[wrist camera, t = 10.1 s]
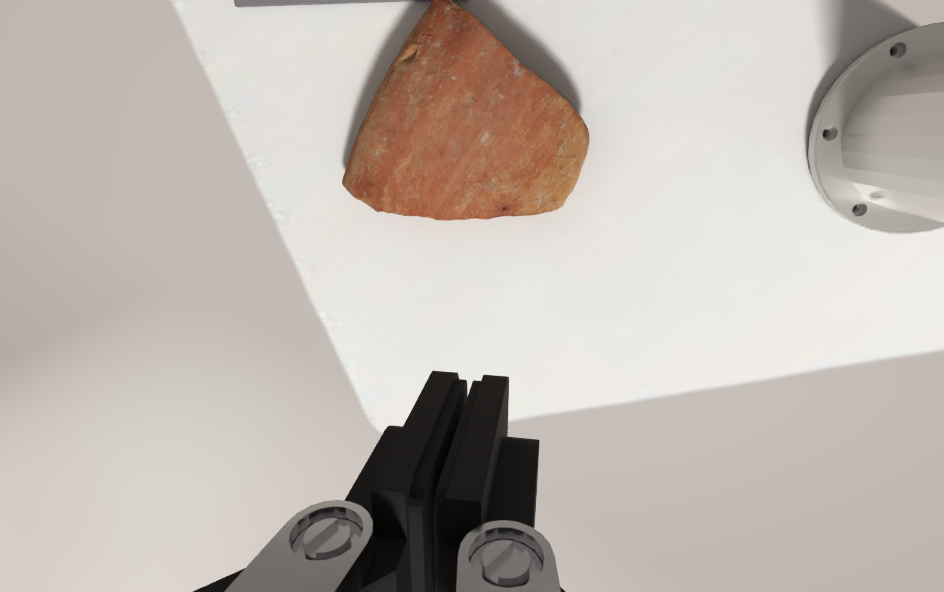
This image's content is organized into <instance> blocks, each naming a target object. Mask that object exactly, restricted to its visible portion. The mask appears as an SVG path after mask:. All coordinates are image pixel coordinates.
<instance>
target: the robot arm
mask: <svg viewBox="0 0 944 592" xmlns="http://www.w3.org/2000/svg"><path fill="white" fill-rule="evenodd" d="M891 48H892V49H893V54H892V55H890V49H891ZM825 129H826V130H827V135H826V136H825V137H823V135H822V133H823V131H824V130H825ZM808 159H809V165H810V171H811V176H812V178H813V181H814V183H815V185H816V188H817V190H818V192H819V193H820V195H821V196H822V197H823V199H824V200H825V202H826V203H827V204H828V205H829V206H830V207H831V208H832V209H833V210H834V211H835V212H837V213H838V214H839V215H840V216H842V217H844V218H845V219H847V220H849V221H851V222H853V223H854V224H857V225H860V226H863V227H865V228H868V229H871V230H876V231H880V232H885V233H893V234H913V233H921V232H928V231H933V230H936V229H940V228H943V227H944V22H942V23H933V24H929V25H925V26H921V27H918V28H914V29H911V30H908V31H906V32H903V33H900V34H898V35H895V36H892V37H890V38H888V39H886V40H885V41H883V42H881V43H880V44H878V45H876V46H874V47H873V48H871V49H869V50H868V51H867V52H865V53H864V54H863V55H862V56H860V57H859V58H858V59H857V60H855V61H854V62H853V63H852V64H850V65H849V67H848V68H847V69H846V70H845V71H844V72H843V73H842V74H841V75H840V76H839V77H838V78H837V80H836V81H835V82H834V83H833V85H832V86H831V88H830V89H829V91H828V92H827V94H826V95H825V97H824V98H823V100H822V102H821V104H820V107H819V109H818V111H817V113H816V115H815V118H814V121H813V125H812V129H811V133H810V137H809V151H808ZM855 205H856V209H855V210H854V211H852V209H853V207H854V206H855ZM508 397H509V377H505V376H492V375H483V378H482V381H473V383H472V386H471V389H470V392H469V394H468V397H467V381H466V380H460V379H459V376H458V373H454V372H441V371H432V373H431V374H430V376H429V378H428V380H427V382H426V384H425V386H424V388H423V390H422V392H421V394H420V395H419V397H418V399H417V401H416V403H415V405H414V407H413V409H412V411H411V413H410V415H409V416H408V418H407V420H406V422H405V424H404V426H403V427H400V426H388V427H387V428H386V430H385V431H384V433H383V435H382V436H381V438H380V440H379V442H378V444H377V445H376V447H375V448H374V451H373V452H372V454H371V456H370V457H369V459H368V461H367V462H366V464H365V466H364V468H363V469H362V471H361V473H360V474H359V476H358V478H357V480H356V482H355V483H354V485H353V487H352V489H351V490H350V492H349V494H348V496H347V497H346V499H345V500H344V501H342V500H334V501H325V502H321V503H318V504H315V505H311V506H309V507H307V508H306V509H304V510H302V511H300V512H299V513H297V514H296V515H295V516H294V517H293V518H291V519H290V520H289V521H288V522H287V523H286V524H285V525H284V526H283V527H282V528H281V530H280V531H279V532H278V533H277V534H276V535H275V536H274V537H273V538H272V539H271V541H270V542H269V543H268V544H267V545H266V546H265V547H264V548H263V549H262V550H261V552H260V553H259V554H258V555H257V556H256V557H255V558H254V559H253V560H252V562H251V563H250V564H249V565H248V566H247V567H246V568H245V569H242V570H240V571H238V572H236V573H234V574H231V575H229V576H227V577H225V578H222V579H220V580H218V581H216V582H213V583H211V584H209V585H207V586H204V587H202V588H200V589H198V590H196V591H193V592H565V591H564V590H563V589H562V588H561V587H560V584H559V578H558V572H557V567H556V562H555V556H554V553H553V550H552V548H551V545H550V543H549V542H548V541H547V540H546V539H545V537H544V536H543V535H542V534H541V533H539V532H538V531H536V530H535V529H534V525H535V510H536V494H537V476H538V457H539V440H535V439H524V438H515V437H507V431H508Z"/></svg>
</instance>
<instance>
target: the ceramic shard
mask: <svg viewBox="0 0 944 592" xmlns="http://www.w3.org/2000/svg"><path fill="white" fill-rule="evenodd" d="M588 146H589V132H588V129H587V127H586V124H585V123H584V121H583V119H582V118H581V117H580V115H579V114H578V112H577V111H576V110H575V109H574V108H573V107H572V105H571V104H570V103H569V102H568V101H567V100H566V99H565V98H564V97H563V96H562V95H561V94H559V93H558V92H557V91H556V90H554V89H553V88H552V86H551V85H550V84H548V83H547V82H545V81H544V80H543V79H541V77H540V76H538V75H537V74H536V73H535V72H533V71H531V70H529V69H528V68H527V67H526V66H524V65H523V64H522V63H520V62H519V61H518V59H517V57H516V56H514V54H513V53H512V52H511V51H510V50H509V49H508V48H507V47H506V46H505V45H503V44H502V43H501V42H500V41H499V40H498V38H497V37H496V36H495V35H494V34H493V33H492V32H491V31H490V30H489V29H488V28H487V27H486V26H485V25H484V24H483V23H482V22H481V21H480V20H479V19H478V18H477V17H476V16H475V15H474V14H472V13H470V12H468V11H467V10H465V9H464V8H461V7H459V6H457V5H456V4H455V3H454V1H452V0H434V1H433V2H432V4H431V5H430V7H429V8H428V10H427V11H426V12H425V14H424V15H423V17H422V18H421V19H420V21H419V22H418V24H417V25H416V27H415V28H414V29H413V31H412V32H411V34H410V36H409V37H408V39H407V41H406V42H405V44H404V45H403V47H402V48H401V50H400V52H399V54H398V55H397V57H396V59H395V60H394V62H393V63H392V65H391V67H390V68H389V71H388V73H387V75H386V76H385V78H384V80H383V82H382V83H381V85H380V87H379V88H378V91H377V93H376V95H375V97H374V99H373V101H372V103H371V105H370V108H369V110H368V113H367V116H366V118H365V119H364V121H363V123H362V125H361V127H360V130H359V133H358V136H357V138H356V140H355V143H354V145H353V148H352V152H351V156H350V159H349V162H348V165H347V167H346V170H345V174H344V177H343V182H342V184H343V186H344V187H345V188H346V189H347V190H348V192H349V193H350V194H351V195H352V196H353V197H355V198H356V199H358V200H361V201H363V202H364V203H366V204H367V205H369V206H370V207H372V208H373V209H374V210H375V211H377V212H380V211H384V212H386V213H394V214H399V215H403V216H420V217H429V218H432V219H435V220H465V219H473V218H477V219H491V218H495V217H501V216H524V215H536V214H541V213H544V212H550V211H553V210H556V209H558V208H560V207H562V206H563V204H564V202H565V201H566V199H567V197H568V196H569V194H570V193H571V192H572V191H573V189H574V187H575V185H576V182H577V180H578V177H579V174H580V170H581V167H582V165H583V163H584V160H585V157H586V154H587V150H588Z"/></svg>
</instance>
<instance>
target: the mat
mask: <svg viewBox="0 0 944 592" xmlns="http://www.w3.org/2000/svg"><path fill="white" fill-rule="evenodd" d="M402 1H431V0H234V3H235V6H237V7H255V6H285V5H314V4H343V3H372V2H402Z"/></svg>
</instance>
